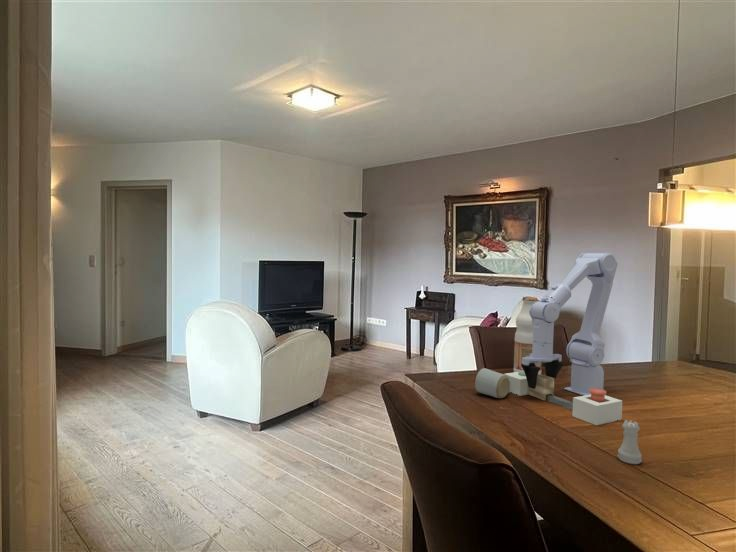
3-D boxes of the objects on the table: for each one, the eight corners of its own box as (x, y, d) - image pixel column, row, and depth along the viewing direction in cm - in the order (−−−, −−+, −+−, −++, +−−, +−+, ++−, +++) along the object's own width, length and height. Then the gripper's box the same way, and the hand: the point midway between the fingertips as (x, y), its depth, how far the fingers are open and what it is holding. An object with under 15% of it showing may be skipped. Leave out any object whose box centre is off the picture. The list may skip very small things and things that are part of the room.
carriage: (537, 392, 135) (538, 373, 135) (553, 398, 130) (554, 378, 130) (528, 394, 134) (528, 374, 133) (544, 400, 128) (544, 379, 128)
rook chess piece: (612, 455, 93) (613, 418, 93) (632, 455, 93) (633, 418, 93) (626, 465, 89) (628, 426, 88) (647, 465, 89) (649, 426, 89)
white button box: (526, 385, 143) (526, 368, 143) (543, 391, 137) (543, 374, 137) (503, 389, 139) (503, 371, 139) (519, 395, 133) (520, 377, 132)
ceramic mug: (497, 401, 127) (499, 375, 127) (473, 394, 133) (475, 369, 133) (516, 395, 134) (517, 370, 134) (492, 388, 140) (493, 365, 140)
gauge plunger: (595, 402, 118) (596, 387, 118) (609, 406, 114) (610, 391, 114) (585, 404, 116) (586, 389, 116) (599, 408, 112) (599, 393, 112)
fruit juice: (507, 372, 160) (510, 296, 158) (527, 370, 163) (530, 295, 162) (526, 379, 151) (529, 298, 150) (547, 376, 155) (550, 298, 154)
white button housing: (597, 410, 121) (597, 393, 120) (621, 419, 114) (622, 400, 114) (572, 416, 116) (573, 397, 116) (596, 425, 110) (597, 405, 110)
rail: (534, 393, 135) (534, 388, 135) (586, 412, 119) (586, 407, 119) (530, 394, 134) (530, 389, 134) (581, 413, 118) (581, 408, 118)
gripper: (549, 337, 138) (547, 380, 138) (514, 340, 131) (513, 385, 132) (568, 342, 131) (566, 386, 132) (533, 345, 125) (531, 392, 126)
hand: (541, 386), depth 132 cm, fingers open, 7 cm apart
